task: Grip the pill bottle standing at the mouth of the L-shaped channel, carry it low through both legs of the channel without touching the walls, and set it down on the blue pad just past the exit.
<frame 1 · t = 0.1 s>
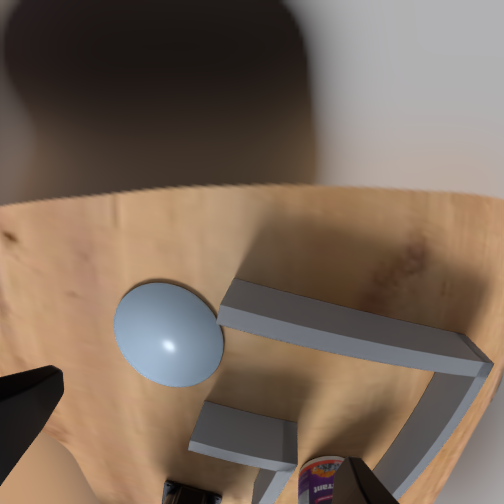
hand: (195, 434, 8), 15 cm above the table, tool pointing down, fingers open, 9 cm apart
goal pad: (166, 337, 24), on the table
pill bottle: (325, 469, 26), on the table
channel: (308, 424, 25), on the table
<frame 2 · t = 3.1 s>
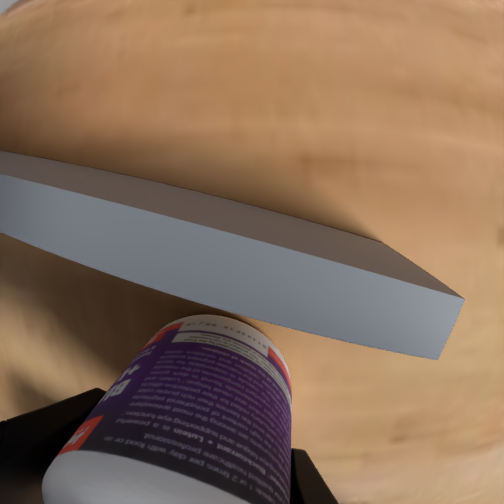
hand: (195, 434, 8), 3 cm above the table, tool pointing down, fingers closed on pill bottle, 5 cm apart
pill bottle: (216, 375, 11), on the table, touching gripper
channel: (75, 398, 12), on the table
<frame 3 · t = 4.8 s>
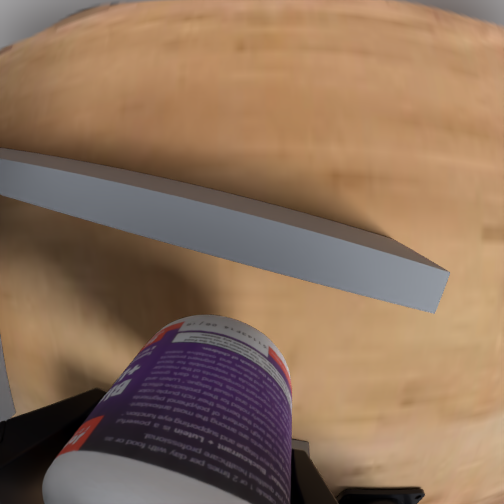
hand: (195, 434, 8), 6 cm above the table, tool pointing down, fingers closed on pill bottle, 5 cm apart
pill bottle: (216, 375, 11), point 3 cm above the table, touching gripper
channel: (128, 378, 15), on the table
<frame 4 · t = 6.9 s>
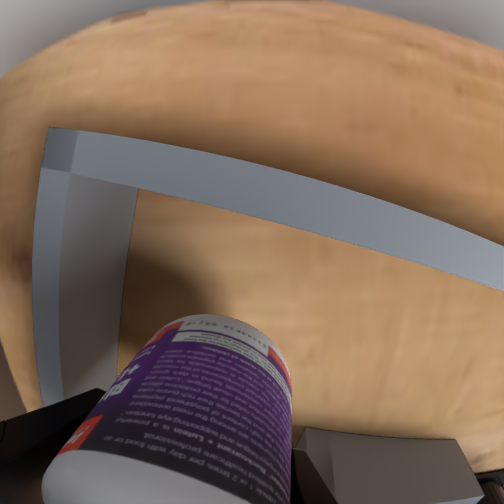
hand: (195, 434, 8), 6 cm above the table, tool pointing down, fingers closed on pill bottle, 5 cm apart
pill bottle: (216, 374, 11), point 3 cm above the table, touching gripper
channel: (312, 413, 14), on the table
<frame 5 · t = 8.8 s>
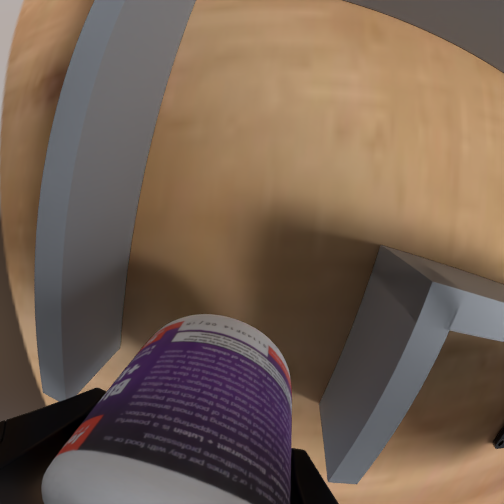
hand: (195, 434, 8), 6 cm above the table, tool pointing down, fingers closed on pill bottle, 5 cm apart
pill bottle: (216, 375, 11), point 3 cm above the table, touching gripper
channel: (387, 220, 12), on the table
when the fingers open (4 cm above the table, at t = 10.6 s): pill bottle drops 1 cm, resting on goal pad.
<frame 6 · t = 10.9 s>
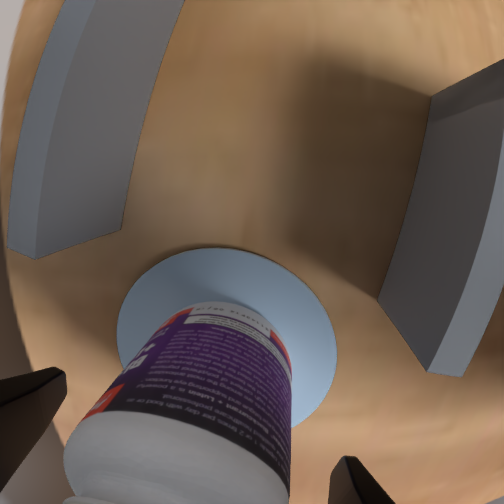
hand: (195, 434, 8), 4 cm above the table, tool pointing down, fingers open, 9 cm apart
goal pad: (221, 358, 12), on the table
pill bottle: (222, 359, 12), resting on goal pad
channel: (435, 74, 9), on the table
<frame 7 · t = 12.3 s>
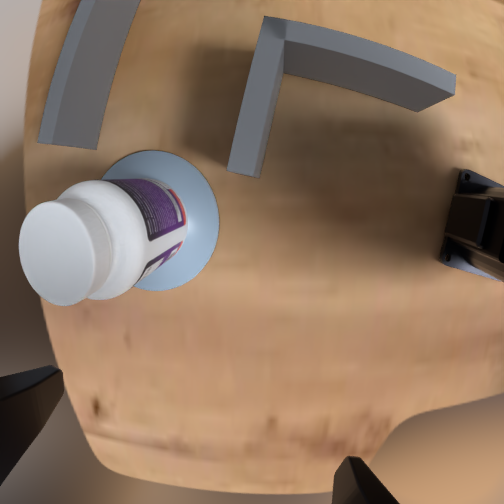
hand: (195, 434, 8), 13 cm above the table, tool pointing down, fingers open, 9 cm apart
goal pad: (150, 221, 20), on the table
pill bottle: (150, 221, 20), resting on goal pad
channel: (271, 39, 17), on the table
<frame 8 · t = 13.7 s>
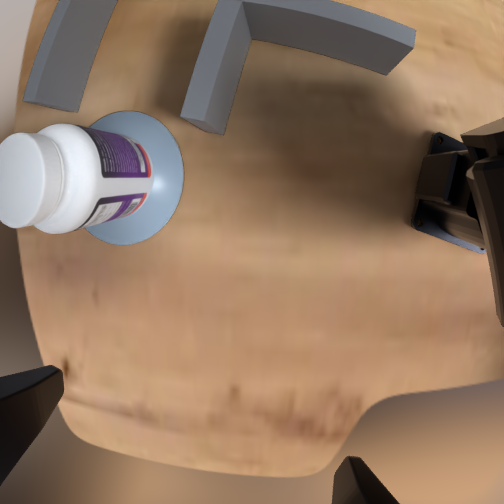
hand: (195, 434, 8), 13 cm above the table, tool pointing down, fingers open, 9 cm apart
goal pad: (120, 177, 20), on the table
pill bottle: (120, 177, 20), resting on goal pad
channel: (242, 10, 17), on the table
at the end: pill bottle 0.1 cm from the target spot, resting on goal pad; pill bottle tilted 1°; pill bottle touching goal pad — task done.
